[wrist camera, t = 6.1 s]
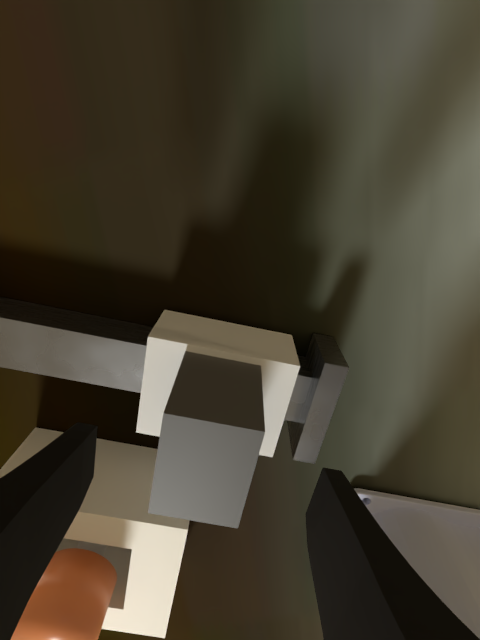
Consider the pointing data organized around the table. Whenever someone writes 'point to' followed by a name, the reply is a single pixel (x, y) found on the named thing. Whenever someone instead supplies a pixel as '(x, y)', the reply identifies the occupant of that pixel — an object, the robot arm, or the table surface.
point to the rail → (129, 358)
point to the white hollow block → (124, 532)
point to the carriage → (212, 411)
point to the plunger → (70, 596)
